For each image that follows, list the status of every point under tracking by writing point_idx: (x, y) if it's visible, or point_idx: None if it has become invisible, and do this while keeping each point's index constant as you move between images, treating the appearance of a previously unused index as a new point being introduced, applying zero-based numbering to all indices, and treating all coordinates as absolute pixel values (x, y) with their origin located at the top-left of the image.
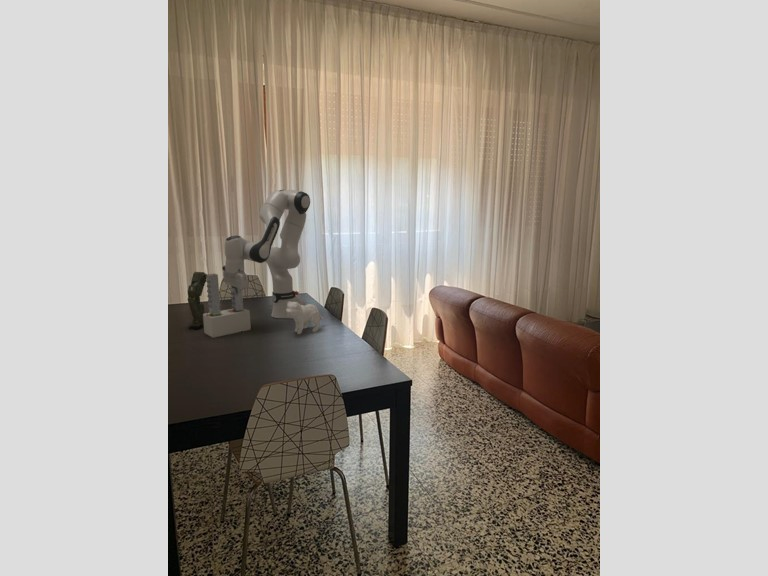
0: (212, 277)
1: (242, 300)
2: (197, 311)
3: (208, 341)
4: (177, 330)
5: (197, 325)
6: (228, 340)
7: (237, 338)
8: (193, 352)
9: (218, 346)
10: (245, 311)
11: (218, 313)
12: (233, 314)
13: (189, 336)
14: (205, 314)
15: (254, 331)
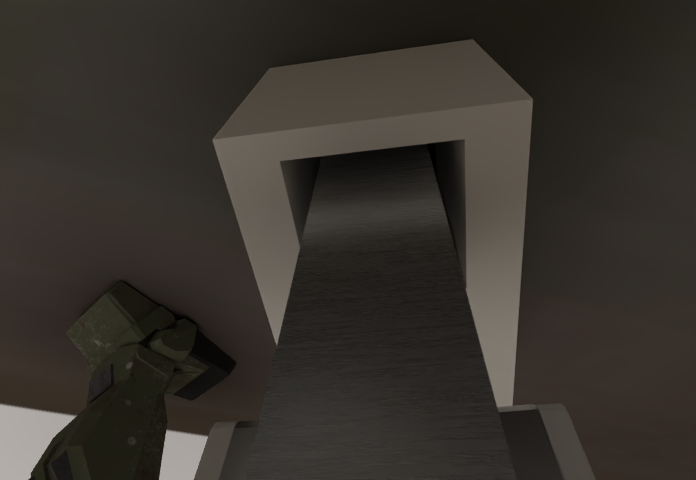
0: None
1: (459, 270)
2: (157, 467)
3: (524, 372)
4: (194, 430)
5: (200, 374)
6: (611, 286)
7: (625, 225)
8: (640, 454)
9: (669, 358)
10: (518, 166)
11: None
12: (515, 313)
13: None
14: None
15: (564, 28)
